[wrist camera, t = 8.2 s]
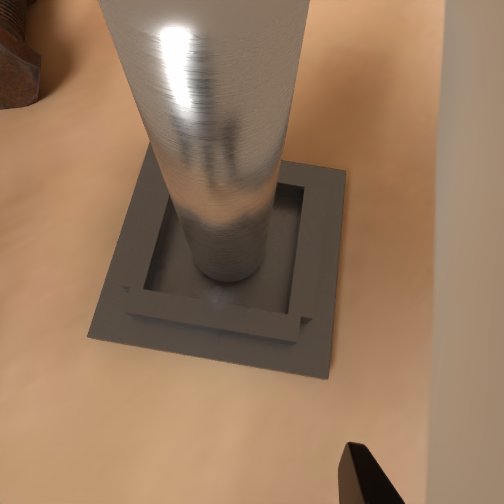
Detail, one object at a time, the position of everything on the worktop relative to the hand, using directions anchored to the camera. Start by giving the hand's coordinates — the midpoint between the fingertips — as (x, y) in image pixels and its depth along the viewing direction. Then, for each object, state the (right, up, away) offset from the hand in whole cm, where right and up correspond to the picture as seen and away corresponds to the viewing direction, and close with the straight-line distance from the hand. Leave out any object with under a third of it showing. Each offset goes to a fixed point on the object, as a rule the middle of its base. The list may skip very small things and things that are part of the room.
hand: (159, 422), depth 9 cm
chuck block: (+1, +4, +12) cm, 12 cm away
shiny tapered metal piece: (+1, +4, +11) cm, 12 cm away
